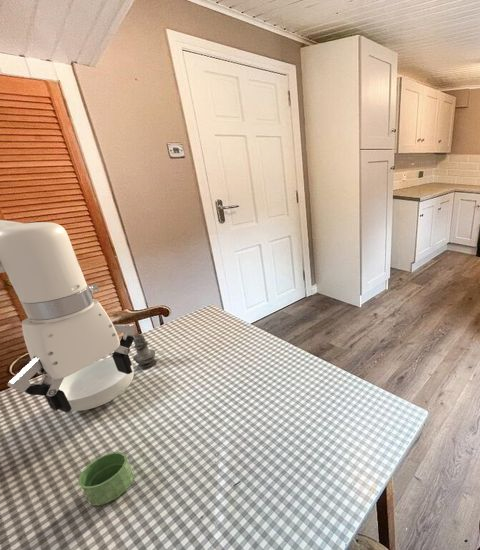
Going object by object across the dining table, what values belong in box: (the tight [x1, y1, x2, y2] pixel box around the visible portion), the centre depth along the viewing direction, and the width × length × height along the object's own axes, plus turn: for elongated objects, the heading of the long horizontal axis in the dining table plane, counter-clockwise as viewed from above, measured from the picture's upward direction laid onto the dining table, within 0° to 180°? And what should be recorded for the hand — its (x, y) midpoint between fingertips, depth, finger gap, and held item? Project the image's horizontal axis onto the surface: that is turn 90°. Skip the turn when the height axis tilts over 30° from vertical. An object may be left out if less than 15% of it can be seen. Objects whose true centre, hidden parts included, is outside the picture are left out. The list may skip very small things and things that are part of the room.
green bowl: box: [77, 451, 135, 506], centre depth 61 cm, size 7×7×6 cm
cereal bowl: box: [59, 357, 135, 412], centre depth 83 cm, size 17×17×7 cm
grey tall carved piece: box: [132, 332, 158, 371], centre depth 95 cm, size 6×6×12 cm
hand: (97, 389), depth 54 cm, fingers open, 9 cm apart
